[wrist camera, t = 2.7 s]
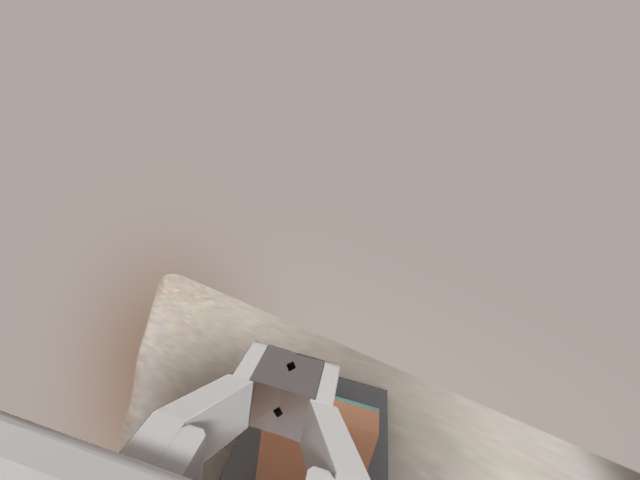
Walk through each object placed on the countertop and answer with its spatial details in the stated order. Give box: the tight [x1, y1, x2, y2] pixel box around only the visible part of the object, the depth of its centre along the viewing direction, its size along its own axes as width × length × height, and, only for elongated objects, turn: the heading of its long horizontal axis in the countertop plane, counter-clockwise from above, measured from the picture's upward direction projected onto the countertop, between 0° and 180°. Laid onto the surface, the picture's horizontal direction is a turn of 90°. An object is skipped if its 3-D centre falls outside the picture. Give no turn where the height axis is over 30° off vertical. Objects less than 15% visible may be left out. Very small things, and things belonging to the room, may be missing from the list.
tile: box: [255, 396, 379, 480], centre depth 23 cm, size 8×2×10 cm, turn 78°
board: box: [220, 377, 388, 480], centre depth 29 cm, size 14×18×2 cm
